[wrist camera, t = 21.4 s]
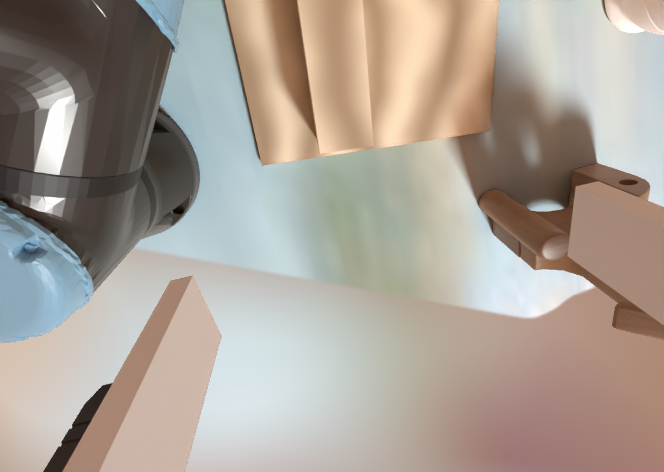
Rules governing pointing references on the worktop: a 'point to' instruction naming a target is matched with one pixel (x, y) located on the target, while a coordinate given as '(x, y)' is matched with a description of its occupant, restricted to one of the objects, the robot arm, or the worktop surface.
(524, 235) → the wooden toy
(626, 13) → the jar
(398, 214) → the worktop surface
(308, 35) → the lid
